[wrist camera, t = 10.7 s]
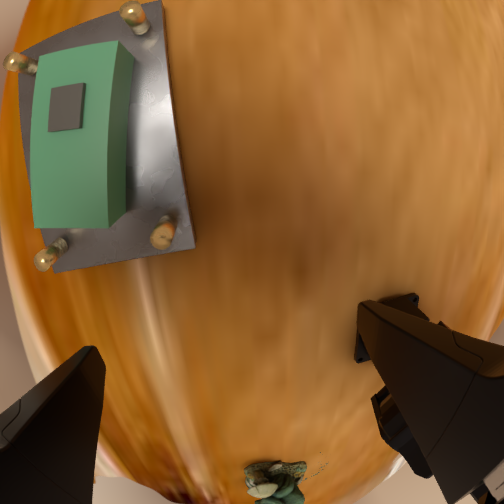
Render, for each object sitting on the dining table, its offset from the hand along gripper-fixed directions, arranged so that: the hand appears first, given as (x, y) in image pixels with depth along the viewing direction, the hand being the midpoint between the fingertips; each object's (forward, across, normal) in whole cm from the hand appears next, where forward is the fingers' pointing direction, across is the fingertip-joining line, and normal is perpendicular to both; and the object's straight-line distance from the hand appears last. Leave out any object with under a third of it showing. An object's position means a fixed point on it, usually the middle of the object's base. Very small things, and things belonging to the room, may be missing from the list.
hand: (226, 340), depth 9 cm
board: (+10, +7, -8) cm, 15 cm away
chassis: (+12, +7, -8) cm, 16 cm away
